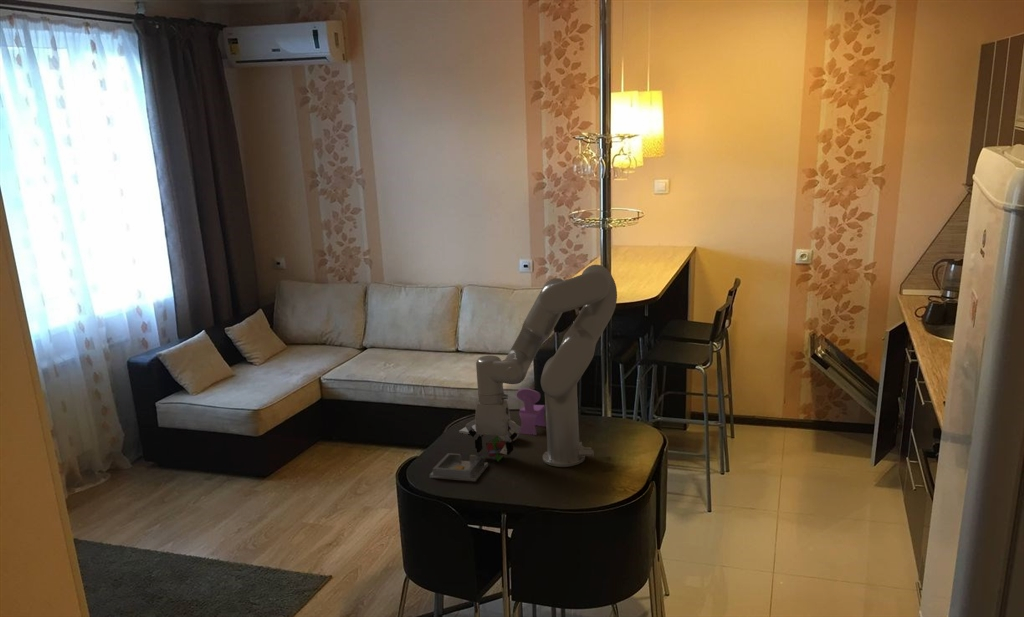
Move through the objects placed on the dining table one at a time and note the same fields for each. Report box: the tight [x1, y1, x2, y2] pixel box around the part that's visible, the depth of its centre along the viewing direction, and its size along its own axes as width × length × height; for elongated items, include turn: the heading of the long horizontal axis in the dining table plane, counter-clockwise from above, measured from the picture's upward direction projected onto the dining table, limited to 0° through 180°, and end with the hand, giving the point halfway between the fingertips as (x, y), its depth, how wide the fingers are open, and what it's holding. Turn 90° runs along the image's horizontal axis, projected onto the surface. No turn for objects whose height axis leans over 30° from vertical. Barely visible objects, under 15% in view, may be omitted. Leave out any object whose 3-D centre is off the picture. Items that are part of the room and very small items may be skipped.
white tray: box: [429, 452, 489, 482], centre depth 228 cm, size 14×12×3 cm
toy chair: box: [516, 387, 546, 436], centre depth 257 cm, size 8×9×15 cm
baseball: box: [498, 420, 520, 442], centre depth 249 cm, size 7×7×7 cm
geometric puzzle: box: [485, 435, 508, 463], centre depth 235 cm, size 7×7×8 cm
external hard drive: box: [458, 425, 483, 437], centre depth 262 cm, size 2×8×12 cm
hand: (494, 451), depth 235 cm, fingers open, 9 cm apart
